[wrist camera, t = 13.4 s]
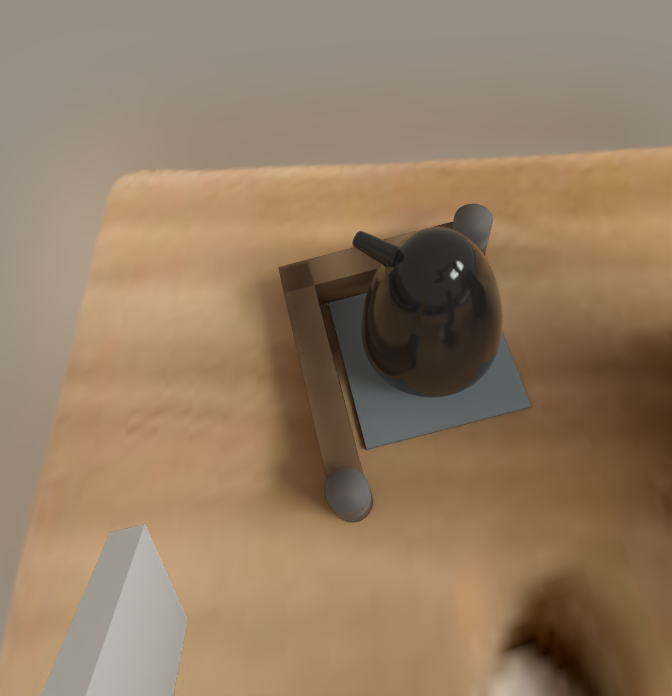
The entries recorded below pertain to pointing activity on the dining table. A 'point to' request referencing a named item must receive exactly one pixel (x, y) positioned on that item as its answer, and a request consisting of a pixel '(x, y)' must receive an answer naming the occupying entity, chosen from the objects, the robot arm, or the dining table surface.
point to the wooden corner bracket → (317, 360)
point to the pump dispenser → (430, 312)
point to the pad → (413, 411)
